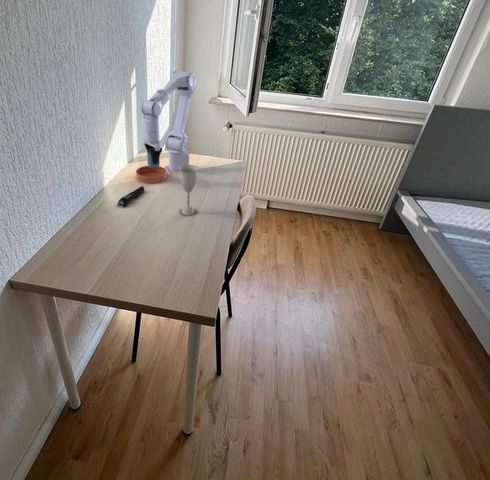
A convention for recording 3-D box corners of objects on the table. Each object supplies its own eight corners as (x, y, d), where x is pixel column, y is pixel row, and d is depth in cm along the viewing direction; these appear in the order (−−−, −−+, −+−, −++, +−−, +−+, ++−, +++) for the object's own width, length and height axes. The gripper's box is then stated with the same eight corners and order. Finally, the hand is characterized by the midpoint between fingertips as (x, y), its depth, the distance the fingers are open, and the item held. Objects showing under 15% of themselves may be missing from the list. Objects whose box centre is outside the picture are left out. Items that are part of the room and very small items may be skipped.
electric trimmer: (146, 193, 149) (146, 186, 148) (124, 207, 138) (124, 200, 136) (139, 191, 151) (139, 184, 149) (117, 205, 139) (116, 198, 137)
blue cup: (157, 162, 159) (157, 148, 155) (161, 167, 155) (160, 152, 151) (146, 164, 157) (145, 150, 153) (149, 168, 153) (148, 154, 149)
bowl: (161, 170, 170) (160, 164, 168) (170, 182, 160) (170, 174, 158) (133, 174, 165) (132, 167, 164) (140, 186, 155) (140, 178, 153)
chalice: (194, 217, 133) (195, 173, 123) (177, 215, 134) (177, 171, 124) (198, 208, 139) (199, 165, 129) (181, 206, 140) (182, 164, 130)
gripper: (138, 126, 151) (140, 156, 159) (147, 136, 140) (149, 168, 148) (154, 125, 154) (155, 155, 161) (164, 135, 143) (165, 166, 150)
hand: (153, 161), depth 155 cm, fingers closed on blue cup, 5 cm apart
